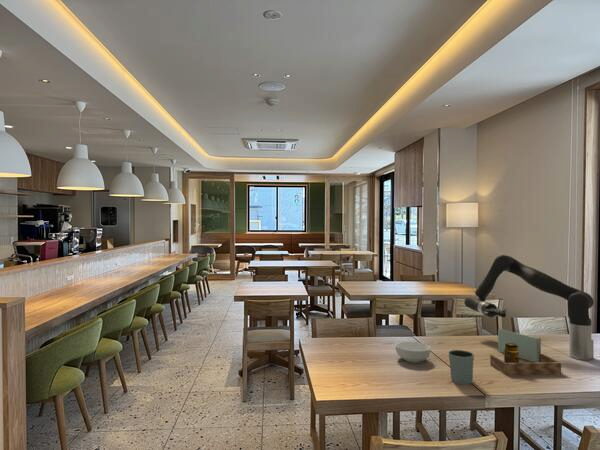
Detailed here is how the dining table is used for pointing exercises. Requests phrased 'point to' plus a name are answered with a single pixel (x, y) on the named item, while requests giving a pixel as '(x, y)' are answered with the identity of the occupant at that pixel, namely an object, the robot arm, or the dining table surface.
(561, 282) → the robot arm
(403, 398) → the dining table surface
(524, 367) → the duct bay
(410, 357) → the cereal bowl
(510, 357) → the condiment
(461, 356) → the blue-grey cup
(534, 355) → the cover door
